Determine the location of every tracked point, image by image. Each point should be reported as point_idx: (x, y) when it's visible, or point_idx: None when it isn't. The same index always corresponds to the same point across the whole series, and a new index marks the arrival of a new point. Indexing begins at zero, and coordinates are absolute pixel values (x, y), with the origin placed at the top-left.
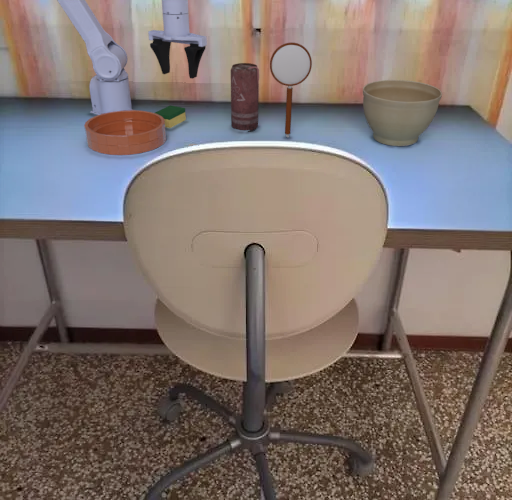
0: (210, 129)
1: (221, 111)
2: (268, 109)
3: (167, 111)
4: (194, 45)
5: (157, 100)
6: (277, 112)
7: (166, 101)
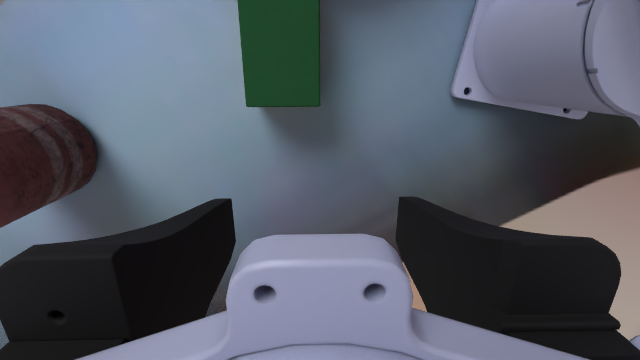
0: (139, 80)
1: None
2: None
3: (279, 26)
4: (51, 353)
5: None
6: None
7: None
